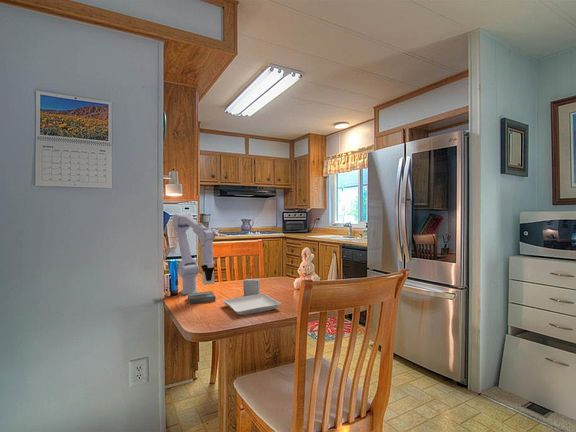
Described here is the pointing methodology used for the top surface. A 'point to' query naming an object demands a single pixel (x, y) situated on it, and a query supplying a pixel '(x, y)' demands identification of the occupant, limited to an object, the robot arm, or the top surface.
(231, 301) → the salad plate
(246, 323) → the top surface
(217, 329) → the top surface
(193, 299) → the slate panel
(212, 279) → the cream block
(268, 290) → the top surface
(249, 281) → the medicine box
